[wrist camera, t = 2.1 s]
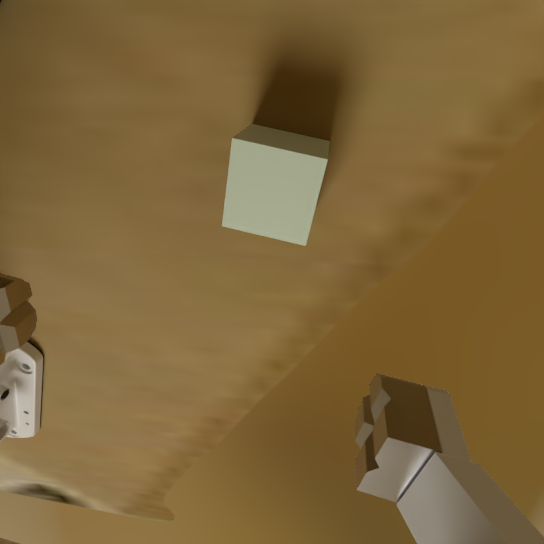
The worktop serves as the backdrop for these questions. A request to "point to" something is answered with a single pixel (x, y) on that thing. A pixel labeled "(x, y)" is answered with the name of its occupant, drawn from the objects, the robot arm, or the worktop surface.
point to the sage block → (274, 183)
